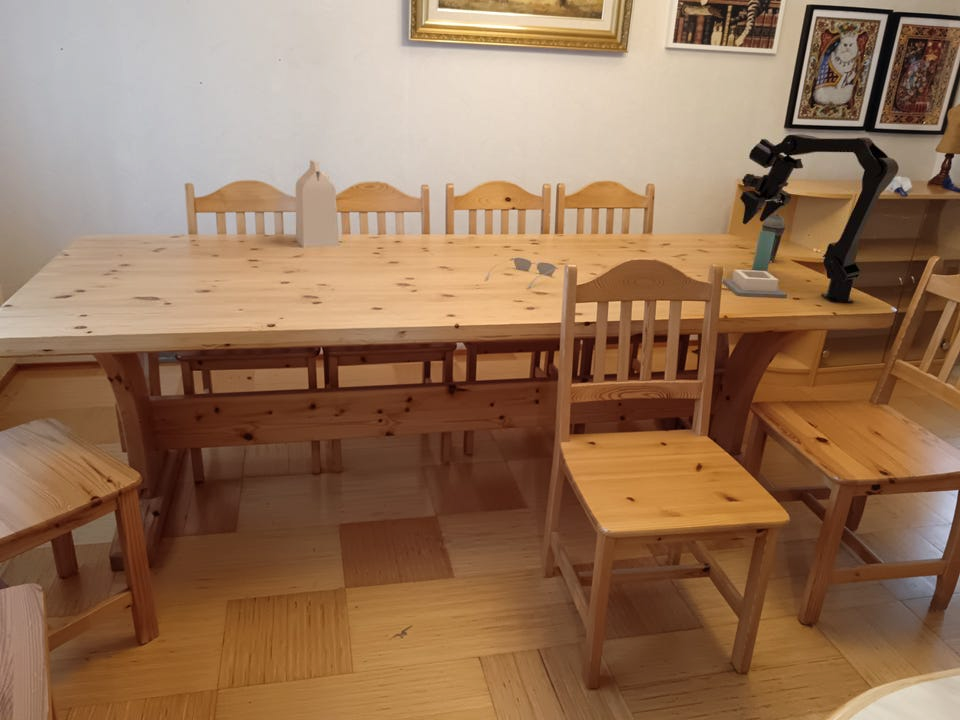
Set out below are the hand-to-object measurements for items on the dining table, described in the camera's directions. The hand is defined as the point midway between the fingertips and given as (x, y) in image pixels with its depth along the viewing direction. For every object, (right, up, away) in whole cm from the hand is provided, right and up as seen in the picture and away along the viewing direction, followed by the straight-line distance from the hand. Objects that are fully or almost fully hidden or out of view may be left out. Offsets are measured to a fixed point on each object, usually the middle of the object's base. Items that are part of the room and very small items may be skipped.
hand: (752, 222), depth 218 cm
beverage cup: (+14, -9, +23) cm, 28 cm away
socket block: (-4, -22, -11) cm, 25 cm away
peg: (+5, -15, +7) cm, 17 cm away
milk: (-137, -4, +16) cm, 138 cm away
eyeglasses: (-72, -19, -11) cm, 75 cm away
